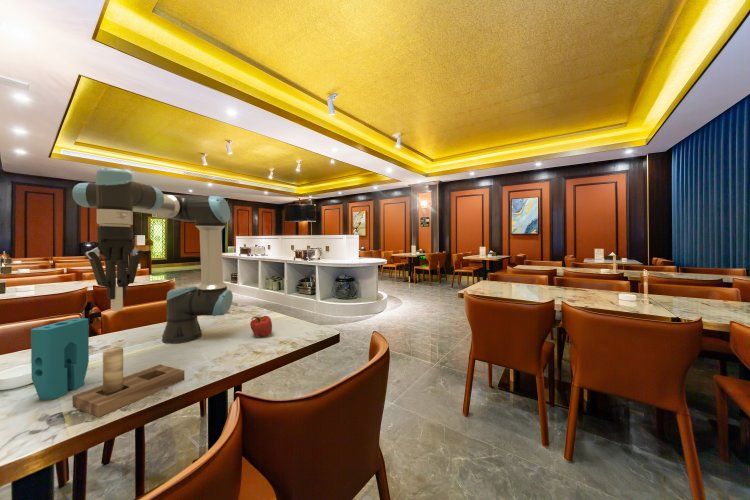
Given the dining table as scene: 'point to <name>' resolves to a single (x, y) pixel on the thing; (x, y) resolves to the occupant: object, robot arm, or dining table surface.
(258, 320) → the red apple
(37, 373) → the block
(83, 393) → the board
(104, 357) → the peg
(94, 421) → the dining table surface
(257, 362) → the dining table surface
